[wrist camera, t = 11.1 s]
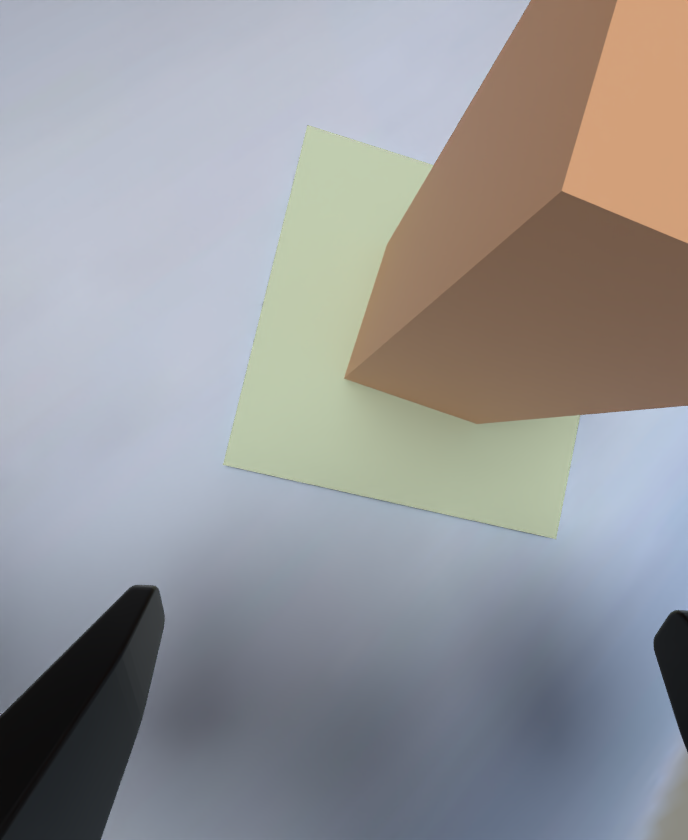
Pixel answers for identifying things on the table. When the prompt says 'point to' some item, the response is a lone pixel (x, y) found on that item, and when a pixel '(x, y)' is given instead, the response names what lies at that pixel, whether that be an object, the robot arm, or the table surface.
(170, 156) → the table surface
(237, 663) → the table surface
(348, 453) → the mat
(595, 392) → the block
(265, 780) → the table surface
